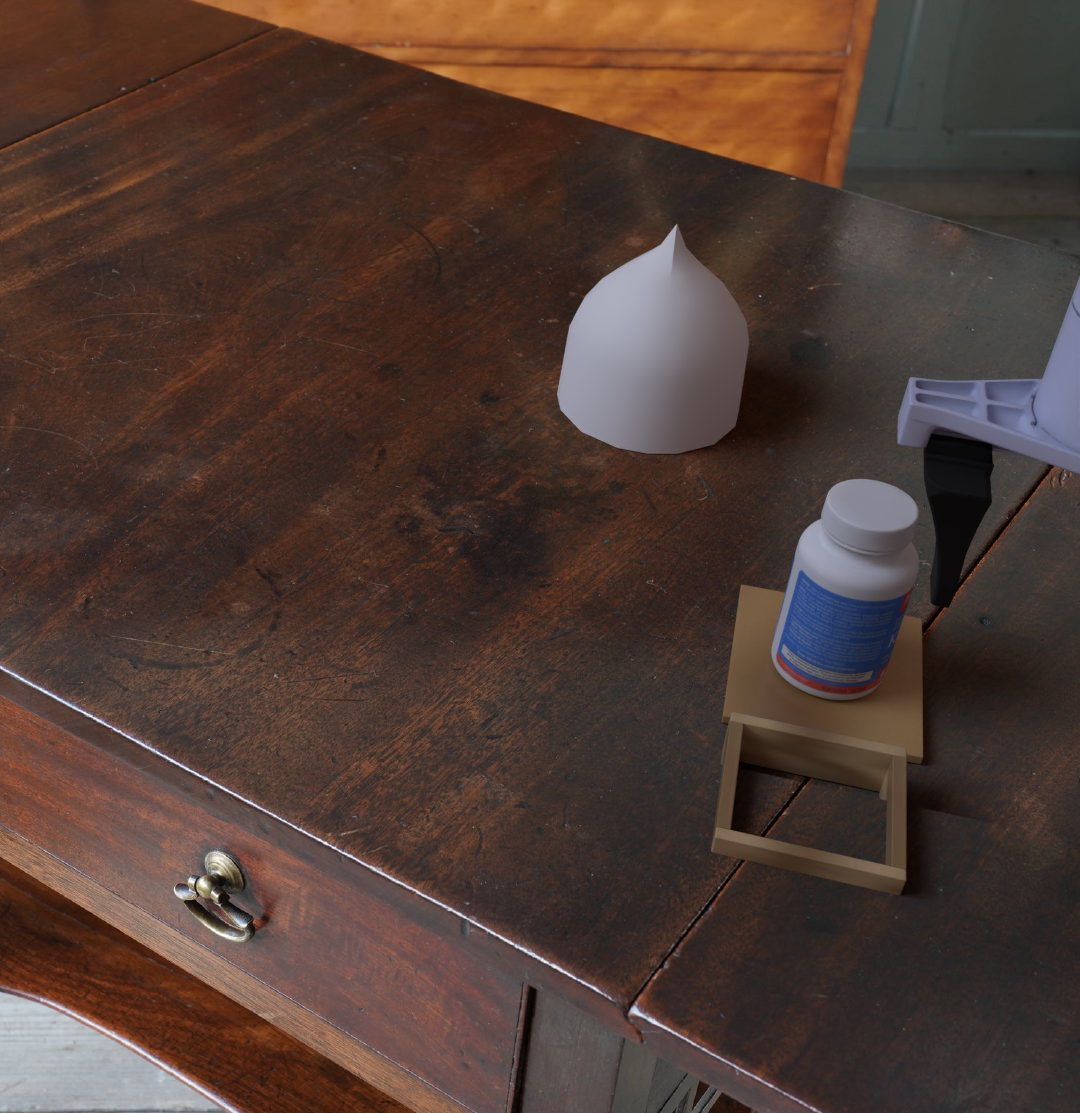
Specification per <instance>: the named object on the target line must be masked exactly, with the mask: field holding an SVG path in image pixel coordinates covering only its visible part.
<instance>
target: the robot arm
mask: <svg viewBox="0 0 1080 1113" xmlns="http://www.w3.org/2000/svg"><path fill="white" fill-rule="evenodd" d="M899 408H900V409H899V412H898V415H897V429H896V431H897V432H896V435H897V438H896V439H897V444H898V445H899V446H905V447H910V448H917V449H923V450H922V451H923V452H922V453H923V456H922V457H923V482H924V488H925V492H926V497H927V501H928V504H929V509H930V512H931V516H932V522H933V527H934V536H935V543H934V545H935V546H934V547H935V548H934V555H933V561H932V567H931V570H930V575H929V581H930V582H929V588H930V589H929V590H930V594H929V595H930V604H931V605H932V606H935V607H941V608H946V609H949V608H950V606H951V605H952V602H953V601H954V598H955V596H956V594H957V589H958V586H959V583H960V578H961V575H962V571H963V567H964V564H965V560H966V557H967V553H968V551H969V548H970V546H971V544H972V542H973V540H974V538H975V536H976V533H977V532H978V529H979V527H980V526H981V523H982V521H983V519H984V517H985V515H986V513H987V512H988V510H989V508H990V507H991V506H992V504H993V496H992V485H991V484H992V482H991V476H992V473H993V471H994V468H995V463H994V458H993V452H997V453H1004V454H1009V455H1016V456H1023V457H1027V458H1030V459H1032V460H1036V461H1039V462H1042V463H1045V464H1047V465H1051V466H1052V467H1053V466H1054V467H1056V468H1059V469H1062V470H1065V471H1068V472H1070V473H1073V474H1076V475H1080V276H1079V277H1078V280H1077V283H1076V285H1075V287H1074V290H1073V294H1072V296H1071V299H1070V302H1069V304H1068V307H1067V309H1066V312H1065V315H1064V318H1063V321H1062V324H1061V326H1060V329H1059V332H1058V334H1057V337H1056V339H1055V342H1054V346H1053V348H1052V351H1051V353H1050V356H1049V360H1048V362H1047V365H1046V367H1045V370H1044V373H1043V375H1042V378H1014V379H1013V378H1012V379H977V380H973V379H971V380H945V379H932V378H923V377H915V376H911V377H909V379H908V382H907V385H906V389H905V392H904V395H903V398H902V402H901V406H900V407H899Z"/></svg>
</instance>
